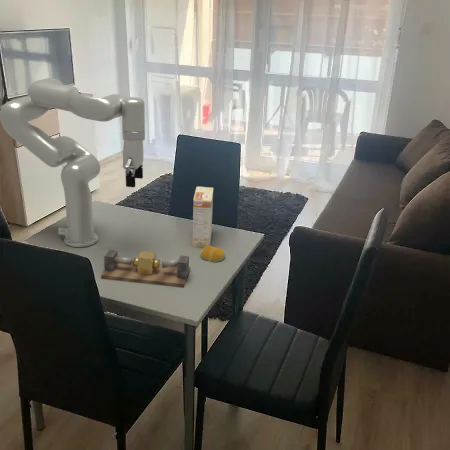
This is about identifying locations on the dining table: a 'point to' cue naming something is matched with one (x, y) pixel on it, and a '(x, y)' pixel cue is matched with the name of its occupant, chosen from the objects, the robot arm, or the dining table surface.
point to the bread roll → (212, 254)
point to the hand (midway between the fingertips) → (134, 182)
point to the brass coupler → (146, 263)
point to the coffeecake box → (202, 216)
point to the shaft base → (165, 275)
